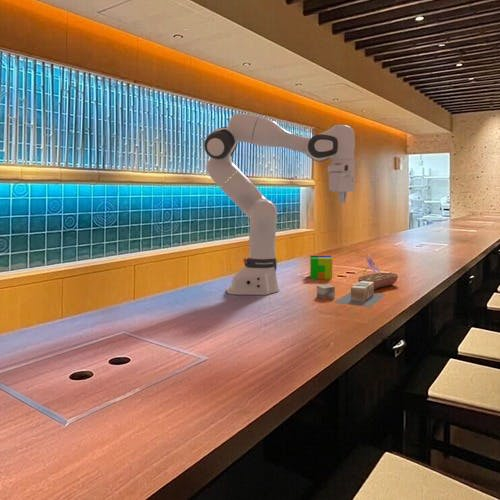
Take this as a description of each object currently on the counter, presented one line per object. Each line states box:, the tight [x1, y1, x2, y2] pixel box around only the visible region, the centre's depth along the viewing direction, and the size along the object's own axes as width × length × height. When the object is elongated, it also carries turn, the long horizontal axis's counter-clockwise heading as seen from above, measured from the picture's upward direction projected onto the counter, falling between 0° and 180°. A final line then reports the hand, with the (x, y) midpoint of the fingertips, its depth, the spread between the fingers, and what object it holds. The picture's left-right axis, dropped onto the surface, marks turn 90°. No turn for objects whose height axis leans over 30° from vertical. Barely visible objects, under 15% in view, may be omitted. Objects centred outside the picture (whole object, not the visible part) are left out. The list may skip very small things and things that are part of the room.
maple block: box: [350, 281, 375, 301], centre depth 184 cm, size 5×5×14 cm
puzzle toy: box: [309, 255, 333, 280], centre depth 229 cm, size 10×10×10 cm
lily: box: [362, 253, 382, 274], centre depth 236 cm, size 12×12×10 cm
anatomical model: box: [357, 272, 399, 290], centre depth 204 cm, size 23×10×5 cm, turn 131°
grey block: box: [316, 284, 336, 300], centre depth 184 cm, size 5×5×5 cm
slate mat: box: [333, 291, 386, 308], centre depth 182 cm, size 22×14×1 cm, turn 150°
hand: (342, 203), depth 183 cm, fingers closed
